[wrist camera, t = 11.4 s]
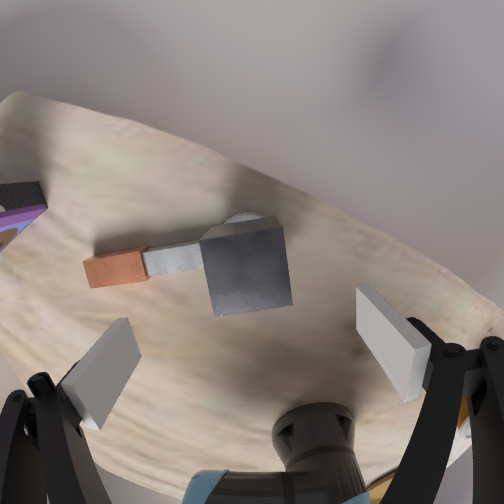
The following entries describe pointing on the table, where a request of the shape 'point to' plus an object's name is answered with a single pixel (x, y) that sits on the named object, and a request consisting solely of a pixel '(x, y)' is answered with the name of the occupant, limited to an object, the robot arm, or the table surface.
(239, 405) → the table surface
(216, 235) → the brushed steel cube
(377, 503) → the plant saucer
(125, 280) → the ratchet
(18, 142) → the table surface
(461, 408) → the disposable coffee cup
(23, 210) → the cereal box
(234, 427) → the table surface
